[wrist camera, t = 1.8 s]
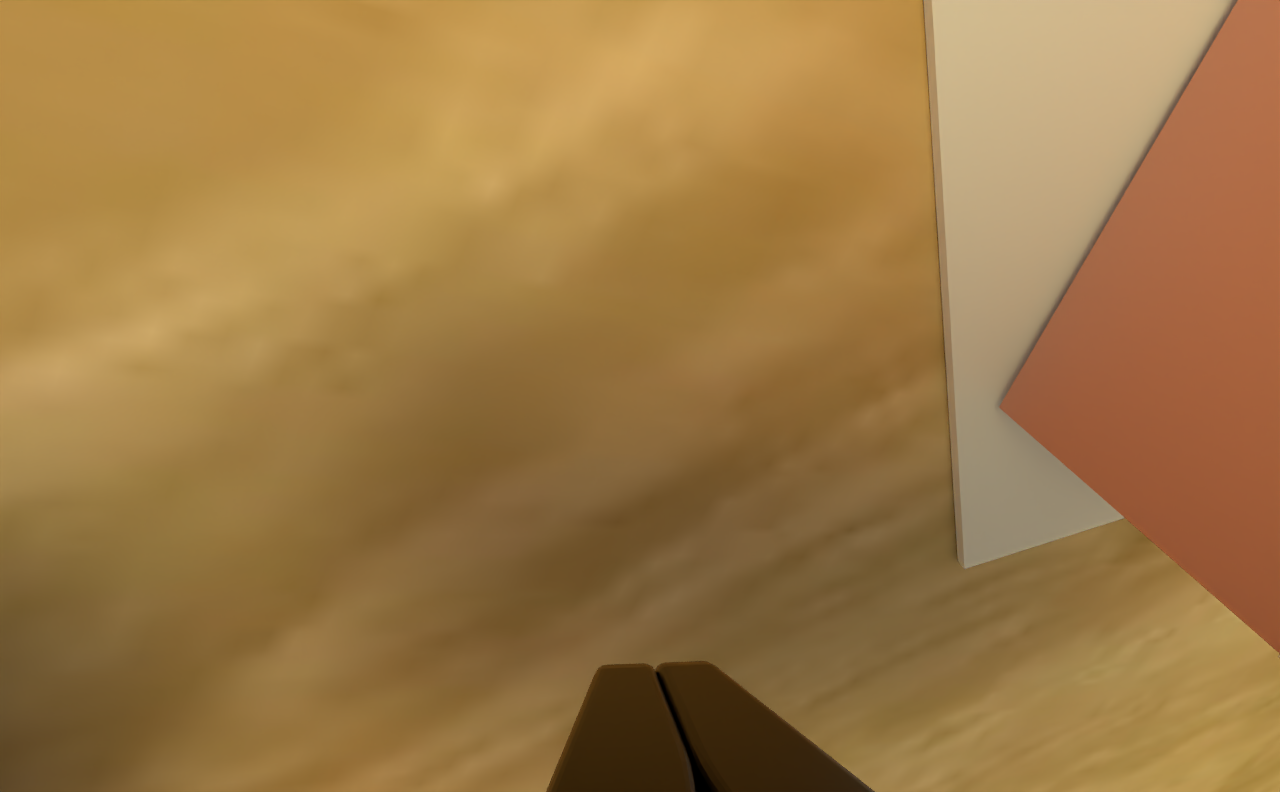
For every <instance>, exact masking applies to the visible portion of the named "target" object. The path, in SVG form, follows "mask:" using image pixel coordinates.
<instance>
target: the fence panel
mask: <svg viewBox="0 0 1280 792" xmlns="http://www.w3.org/2000/svg"><path fill="white" fill-rule="evenodd" d="M999 408H1000V409H1001V410H1002V411H1004V412H1005V413H1006V414H1007V415H1008V416H1009V417H1010V418H1012V419H1013V420H1014V421H1015V422H1016V423H1017V424H1018V425H1020V426H1021V427H1022V428H1023V429H1024V430H1025V431H1026V432H1028V433H1029V434H1030V435H1031V436H1032V437H1033V438H1034V439H1036V440H1037V441H1038V442H1039V443H1040V444H1041V445H1042V446H1043V447H1045V448H1046V449H1047V450H1048V451H1049V452H1050V453H1051V454H1053V455H1054V456H1055V457H1056V458H1057V459H1058V460H1059V461H1061V462H1062V463H1063V464H1064V465H1065V466H1066V467H1067V468H1069V469H1070V470H1071V471H1072V472H1073V473H1074V474H1075V475H1077V476H1078V477H1079V478H1080V479H1081V480H1082V481H1083V482H1085V483H1086V484H1087V485H1088V486H1089V487H1090V488H1091V489H1093V490H1094V491H1095V492H1096V493H1097V494H1098V495H1099V496H1101V497H1102V498H1103V499H1104V500H1105V501H1106V502H1107V503H1109V504H1110V505H1111V506H1112V507H1113V508H1114V509H1115V510H1117V511H1118V512H1119V513H1120V514H1121V515H1122V516H1123V517H1124V518H1126V519H1127V520H1128V521H1129V522H1130V523H1131V524H1132V525H1134V526H1135V527H1136V528H1137V529H1138V530H1139V531H1140V532H1142V533H1143V534H1144V535H1145V536H1146V537H1147V538H1148V539H1150V540H1151V541H1152V542H1153V543H1154V544H1155V545H1156V546H1158V547H1159V548H1160V549H1161V550H1162V551H1163V552H1164V553H1166V554H1167V555H1168V556H1169V557H1170V558H1171V559H1172V560H1174V561H1175V562H1176V563H1177V564H1178V565H1179V566H1180V567H1182V568H1183V569H1184V570H1185V571H1186V572H1187V573H1188V574H1190V575H1191V576H1192V577H1193V578H1194V579H1195V580H1196V581H1198V582H1199V583H1200V584H1201V585H1202V586H1203V587H1204V588H1206V589H1207V590H1208V591H1209V592H1210V593H1211V594H1212V595H1213V596H1215V597H1216V598H1217V599H1218V600H1219V601H1220V602H1221V603H1223V604H1224V605H1225V606H1226V607H1227V608H1228V609H1229V610H1231V611H1232V612H1233V613H1234V614H1235V615H1236V616H1237V617H1239V618H1240V619H1241V620H1242V621H1243V622H1244V623H1245V624H1247V625H1248V626H1249V627H1250V628H1251V629H1252V630H1253V631H1255V632H1256V633H1257V634H1258V635H1259V636H1260V637H1261V638H1263V639H1264V640H1265V641H1266V642H1267V643H1268V644H1269V645H1271V646H1272V647H1273V648H1274V649H1275V650H1276V651H1277V652H1279V653H1280V0H1238V1H1237V2H1236V4H1235V6H1234V7H1233V9H1232V11H1231V12H1230V14H1229V16H1228V18H1227V19H1226V21H1225V23H1224V24H1223V26H1222V28H1221V30H1220V31H1219V33H1218V35H1217V36H1216V38H1215V40H1214V41H1213V43H1212V45H1211V47H1210V48H1209V50H1208V52H1207V53H1206V55H1205V57H1204V59H1203V60H1202V62H1201V64H1200V65H1199V67H1198V69H1197V70H1196V72H1195V74H1194V76H1193V77H1192V79H1191V81H1190V82H1189V84H1188V86H1187V87H1186V89H1185V91H1184V93H1183V94H1182V96H1181V98H1180V99H1179V101H1178V103H1177V105H1176V106H1175V108H1174V110H1173V111H1172V113H1171V115H1170V116H1169V118H1168V120H1167V122H1166V123H1165V125H1164V127H1163V128H1162V130H1161V132H1160V134H1159V135H1158V137H1157V139H1156V140H1155V142H1154V144H1153V145H1152V147H1151V149H1150V151H1149V152H1148V154H1147V156H1146V157H1145V159H1144V161H1143V162H1142V164H1141V166H1140V168H1139V169H1138V171H1137V173H1136V174H1135V176H1134V178H1133V180H1132V181H1131V183H1130V185H1129V186H1128V188H1127V190H1126V191H1125V193H1124V195H1123V197H1122V198H1121V200H1120V202H1119V203H1118V205H1117V207H1116V209H1115V210H1114V212H1113V214H1112V215H1111V217H1110V219H1109V220H1108V222H1107V224H1106V226H1105V227H1104V229H1103V231H1102V232H1101V234H1100V236H1099V238H1098V239H1097V241H1096V243H1095V244H1094V246H1093V248H1092V249H1091V251H1090V253H1089V255H1088V256H1087V258H1086V260H1085V261H1084V263H1083V265H1082V266H1081V268H1080V270H1079V272H1078V273H1077V275H1076V277H1075V278H1074V280H1073V282H1072V284H1071V285H1070V287H1069V289H1068V290H1067V292H1066V294H1065V295H1064V297H1063V299H1062V301H1061V302H1060V304H1059V306H1058V307H1057V309H1056V311H1055V313H1054V314H1053V316H1052V318H1051V319H1050V321H1049V323H1048V324H1047V326H1046V328H1045V330H1044V331H1043V333H1042V335H1041V336H1040V338H1039V340H1038V341H1037V343H1036V345H1035V347H1034V348H1033V350H1032V352H1031V353H1030V355H1029V357H1028V359H1027V360H1026V362H1025V364H1024V365H1023V367H1022V369H1021V370H1020V372H1019V374H1018V376H1017V377H1016V379H1015V381H1014V382H1013V384H1012V386H1011V388H1010V389H1009V391H1008V393H1007V394H1006V396H1005V398H1004V399H1003V401H1002V403H1001V405H1000V406H999ZM1278 657H1279V658H1280V654H1279V656H1278Z"/></svg>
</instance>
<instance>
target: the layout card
mask: <svg viewBox="0 0 1280 792" xmlns="http://www.w3.org/2000/svg"><path fill="white" fill-rule="evenodd" d="M1237 1H1238V0H924V16H925V33H926V49H927V66H928V82H929V98H930V115H931V131H932V147H933V164H934V180H935V196H936V213H937V229H938V245H939V262H940V278H941V294H942V311H943V327H944V344H945V360H946V376H947V393H948V409H949V425H950V442H951V458H952V474H953V491H954V507H955V523H956V540H957V556H958V562H959V563H960V564H961V565H962V567H963V568H964V569H967V568H970V567H973V566H976V565H979V564H982V563H986V562H989V561H992V560H995V559H998V558H1001V557H1004V556H1007V555H1011V554H1014V553H1017V552H1020V551H1023V550H1026V549H1029V548H1033V547H1036V546H1039V545H1042V544H1045V543H1048V542H1051V541H1054V540H1058V539H1061V538H1064V537H1067V536H1070V535H1073V534H1076V533H1079V532H1083V531H1086V530H1089V529H1092V528H1095V527H1098V526H1101V525H1104V524H1108V523H1111V522H1114V521H1117V520H1120V519H1123V518H1124V517H1123V516H1122V515H1121V514H1120V513H1119V512H1118V511H1117V510H1115V509H1114V508H1113V507H1112V506H1111V505H1110V504H1109V503H1107V502H1106V501H1105V500H1104V499H1103V498H1102V497H1101V496H1099V495H1098V494H1097V493H1096V492H1095V491H1094V490H1093V489H1091V488H1090V487H1089V486H1088V485H1087V484H1086V483H1085V482H1083V481H1082V480H1081V479H1080V478H1079V477H1078V476H1077V475H1075V474H1074V473H1073V472H1072V471H1071V470H1070V469H1069V468H1067V467H1066V466H1065V465H1064V464H1063V463H1062V462H1061V461H1059V460H1058V459H1057V458H1056V457H1055V456H1054V455H1053V454H1051V453H1050V452H1049V451H1048V450H1047V449H1046V448H1045V447H1043V446H1042V445H1041V444H1040V443H1039V442H1038V441H1037V440H1036V439H1034V438H1033V437H1032V436H1031V435H1030V434H1029V433H1028V432H1026V431H1025V430H1024V429H1023V428H1022V427H1021V426H1020V425H1018V424H1017V423H1016V422H1015V421H1014V420H1013V419H1012V418H1010V417H1009V416H1008V415H1007V414H1006V413H1005V412H1004V411H1002V410H1001V409H1000V408H999V406H1000V405H1001V403H1002V401H1003V399H1004V398H1005V396H1006V394H1007V393H1008V391H1009V389H1010V388H1011V386H1012V384H1013V382H1014V381H1015V379H1016V377H1017V376H1018V374H1019V372H1020V370H1021V369H1022V367H1023V365H1024V364H1025V362H1026V360H1027V359H1028V357H1029V355H1030V353H1031V352H1032V350H1033V348H1034V347H1035V345H1036V343H1037V341H1038V340H1039V338H1040V336H1041V335H1042V333H1043V331H1044V330H1045V328H1046V326H1047V324H1048V323H1049V321H1050V319H1051V318H1052V316H1053V314H1054V313H1055V311H1056V309H1057V307H1058V306H1059V304H1060V302H1061V301H1062V299H1063V297H1064V295H1065V294H1066V292H1067V290H1068V289H1069V287H1070V285H1071V284H1072V282H1073V280H1074V278H1075V277H1076V275H1077V273H1078V272H1079V270H1080V268H1081V266H1082V265H1083V263H1084V261H1085V260H1086V258H1087V256H1088V255H1089V253H1090V251H1091V249H1092V248H1093V246H1094V244H1095V243H1096V241H1097V239H1098V238H1099V236H1100V234H1101V232H1102V231H1103V229H1104V227H1105V226H1106V224H1107V222H1108V220H1109V219H1110V217H1111V215H1112V214H1113V212H1114V210H1115V209H1116V207H1117V205H1118V203H1119V202H1120V200H1121V198H1122V197H1123V195H1124V193H1125V191H1126V190H1127V188H1128V186H1129V185H1130V183H1131V181H1132V180H1133V178H1134V176H1135V174H1136V173H1137V171H1138V169H1139V168H1140V166H1141V164H1142V162H1143V161H1144V159H1145V157H1146V156H1147V154H1148V152H1149V151H1150V149H1151V147H1152V145H1153V144H1154V142H1155V140H1156V139H1157V137H1158V135H1159V134H1160V132H1161V130H1162V128H1163V127H1164V125H1165V123H1166V122H1167V120H1168V118H1169V116H1170V115H1171V113H1172V111H1173V110H1174V108H1175V106H1176V105H1177V103H1178V101H1179V99H1180V98H1181V96H1182V94H1183V93H1184V91H1185V89H1186V87H1187V86H1188V84H1189V82H1190V81H1191V79H1192V77H1193V76H1194V74H1195V72H1196V70H1197V69H1198V67H1199V65H1200V64H1201V62H1202V60H1203V59H1204V57H1205V55H1206V53H1207V52H1208V50H1209V48H1210V47H1211V45H1212V43H1213V41H1214V40H1215V38H1216V36H1217V35H1218V33H1219V31H1220V30H1221V28H1222V26H1223V24H1224V23H1225V21H1226V19H1227V18H1228V16H1229V14H1230V12H1231V11H1232V9H1233V7H1234V6H1235V4H1236V2H1237Z"/></svg>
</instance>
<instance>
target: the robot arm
mask: <svg viewBox="0 0 1280 792" xmlns="http://www.w3.org/2000/svg"><path fill="white" fill-rule="evenodd" d="M546 792H875V791H873V790H872V789H871V788H869V787H868V786H867V785H866V784H864V783H863V782H862V781H861V780H859V779H858V778H857V777H856V776H854V775H853V774H852V773H850V772H849V771H848V770H847V769H845V768H844V767H843V766H842V765H840V764H839V763H838V762H837V761H835V760H834V759H833V758H832V757H830V756H829V755H828V754H826V753H825V752H824V751H823V750H821V749H820V748H819V747H818V746H816V745H815V744H814V743H813V742H811V741H810V740H809V739H807V738H806V737H805V736H804V735H802V734H801V733H800V732H799V731H797V730H796V729H795V728H794V727H792V726H791V725H790V724H788V723H787V722H786V721H785V720H783V719H782V718H781V717H780V716H778V715H777V714H776V713H775V712H773V711H772V710H771V709H769V708H768V707H767V706H766V705H764V704H763V703H762V702H761V701H759V700H758V699H757V698H756V697H754V696H753V695H752V694H750V693H749V692H748V691H747V690H745V689H744V688H743V687H742V686H740V685H739V684H738V683H737V682H735V681H734V680H733V679H731V678H730V677H729V676H728V675H726V674H725V673H724V672H723V671H721V670H720V669H719V668H718V667H716V666H715V665H712V664H711V663H709V662H705V661H695V662H669V663H662V664H660V665H659V666H658V667H657V668H656V670H654V669H653V667H651V666H650V665H648V664H644V663H643V664H616V665H603V666H601V667H599V668H598V670H597V671H596V673H595V675H594V677H593V680H592V682H591V684H590V687H589V689H588V692H587V694H586V696H585V699H584V701H583V704H582V706H581V709H580V711H579V713H578V716H577V718H576V721H575V723H574V726H573V728H572V730H571V733H570V735H569V738H568V740H567V742H566V745H565V747H564V750H563V752H562V755H561V757H560V759H559V762H558V764H557V767H556V769H555V771H554V774H553V776H552V779H551V781H550V784H549V786H548V788H547V791H546Z"/></svg>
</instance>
